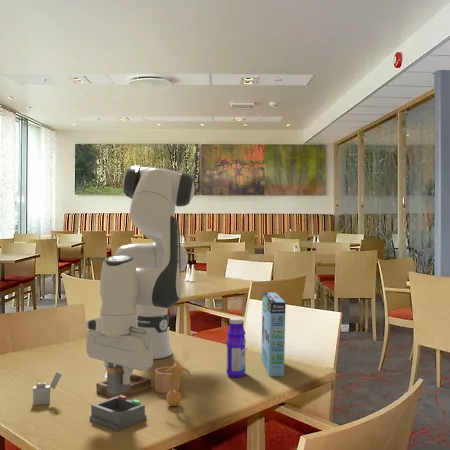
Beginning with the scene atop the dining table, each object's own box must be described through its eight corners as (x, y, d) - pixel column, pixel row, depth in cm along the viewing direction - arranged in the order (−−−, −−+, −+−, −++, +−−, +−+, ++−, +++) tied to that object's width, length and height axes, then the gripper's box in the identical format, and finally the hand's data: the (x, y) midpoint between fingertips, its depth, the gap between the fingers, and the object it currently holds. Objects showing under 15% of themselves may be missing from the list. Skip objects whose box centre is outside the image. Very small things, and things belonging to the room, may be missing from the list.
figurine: (187, 401, 139) (187, 356, 138) (193, 409, 133) (193, 362, 132) (156, 404, 136) (156, 358, 136) (160, 413, 130) (160, 365, 130)
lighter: (32, 405, 135) (32, 374, 135) (33, 402, 137) (33, 372, 137) (61, 402, 137) (61, 372, 137) (62, 400, 139) (62, 370, 139)
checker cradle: (89, 420, 126) (89, 403, 125) (118, 409, 133) (118, 393, 133) (117, 430, 119) (117, 413, 119) (146, 418, 127) (146, 402, 126)
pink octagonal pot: (149, 389, 147) (149, 370, 147) (167, 383, 153) (167, 365, 153) (167, 395, 143) (167, 375, 143) (184, 388, 148) (184, 369, 148)
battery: (107, 391, 125) (107, 365, 125) (121, 387, 128) (121, 361, 128) (115, 394, 123) (115, 367, 123) (129, 389, 127) (130, 363, 126)
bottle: (243, 379, 158) (243, 321, 157) (224, 377, 159) (224, 320, 158) (247, 371, 165) (247, 316, 164) (229, 370, 166) (229, 315, 165)
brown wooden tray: (96, 392, 145) (96, 383, 145) (129, 381, 155) (129, 373, 155) (118, 399, 140) (118, 390, 140) (150, 387, 149) (150, 379, 149)
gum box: (261, 359, 179) (261, 292, 179) (276, 359, 180) (276, 292, 179) (268, 376, 160) (269, 301, 159) (285, 376, 160) (286, 301, 160)
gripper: (159, 327, 122) (159, 387, 122) (102, 317, 134) (102, 371, 134) (139, 332, 117) (139, 394, 117) (81, 321, 129) (81, 377, 129)
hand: (118, 381), depth 126 cm, fingers closed on battery, 3 cm apart
